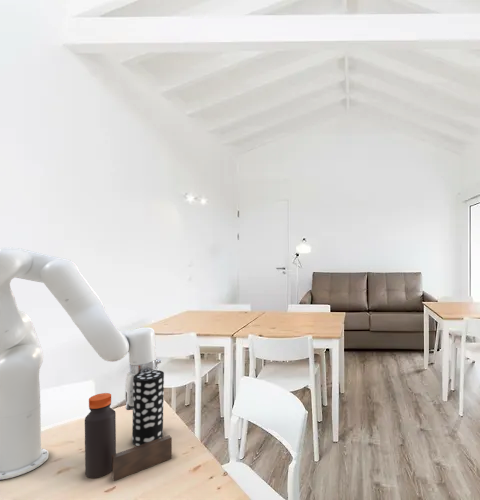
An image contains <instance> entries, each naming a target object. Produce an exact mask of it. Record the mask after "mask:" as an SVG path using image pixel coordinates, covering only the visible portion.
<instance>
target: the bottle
mask: <svg viewBox="0 0 480 500" xmlns="http://www.w3.org/2000/svg"><path fill="white" fill-rule="evenodd" d="M111 405H112V394H111V393H110V392H101V393H97V394H95V395H92V396H90V397H89V398H88V410H89V411H90V412H89V413H88V414H87V415H86V416H85V418H84V473H85V476H86V477H87V478H89V479H97V478H100V477H103V476H106V475H109V474H110V473H112V455H113V454H116V453H117V440H116V438H117V431H116V430H117V423H116V422H117V421H116V420H117V418H116V414H117V413H116V410H115V409H113V408H112V407H111Z"/></svg>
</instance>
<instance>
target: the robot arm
mask: <svg viewBox="0 0 480 500" xmlns="http://www.w3.org/2000/svg"><path fill="white" fill-rule="evenodd" d="M15 278H16V279H21V280H26V281H31V282H36V283H42V284H44V286H45V287H46V288H47V289H48V290H49V292H50V293H51V295H53V297H54V298H55V300H57V302H58V303H59V305H60V306H61V307H62V309H63V310H64V311H65V312H66V314H67V315H68V316H69V317H70V320H71V321H72V323H73V324H74V325H75V326H76V327H77V328H78V330H79V332H81V334H82V336H83V337H84V338H85V340H86V341H87V342H88V344H89V345H90V346H91V347H92V349H93V350H94V352H96V354H97V355H98V356H99V357H100V358H101V359H102V360H104V361H106V362H110V363H114V362H118V361H120V360H122V359H124V358H125V357H126V356H127V354H128V365H129V367H128V369H129V372H127V373H126V376H125V383H124V401H125V407H124V408H125V410H126V411H133V377H134V376H135V375H136V374H142V373H148V372H151V371H153V370H159V371H160V367H159V366H158V365H160V364H161V363H162V359H161V358H159V359H158V358H157V350H156V349H157V348H156V331H155V329H154V328H152V327H148V326H147V327H138V328H134V329H122V330H121V329H120V330H119V329H118V328H117V326H116V325H115V323H114V322H113V321H112V318H111V317H110V316H109V314H108V312H107V310H106V308H105V306H104V303H103V301H102V300H101V298H100V297H99V295H98V294H97V293H96V292H95V290H94V289H93V287H91V285H90V284H89V281H87V279H86V278H85V277H84V275H83V274H82V273H81V271H80V270H79V266H78V265H77V264H76V263H75V262H74V261H73V260H71V259H67V258H63V257H59V256H53V255H49V254H45V253H41V252H37V251H32V250H28V249H23V248H20V247H0V480H8V479H12V478H16V477H19V476H22V475H24V474H27V473H29V472H31V471H33V470H35V469H37V468H38V467H40V466H42V465H43V464H44V463H45V462H46V461H47V460H49V459H48V458H49V451H48V450H47V449H45V448H42V423H41V422H42V418H41V417H42V416H41V415H42V414H41V413H42V412H41V411H42V409H41V407H42V406H41V405H42V404H41V386H40V371H41V367H42V364H43V362H44V352H43V351H44V350H43V349H42V346H41V343H40V340H39V337H38V334H37V332H36V328H35V325H34V323H33V321H32V319H31V317H30V316H29V315H28V314H27V312H25V311H22V310H21V309H20V310H19V307H18V304H17V302H16V298H15V295H14V293H13V291H12V289H11V282H12V280H13V279H15Z"/></svg>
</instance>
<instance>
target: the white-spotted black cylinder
mask: <svg viewBox="0 0 480 500" xmlns="http://www.w3.org/2000/svg"><path fill="white" fill-rule="evenodd" d="M164 387H165V372H164V371H162V370H160V369H159V370H153V371H151V372H148V373H142V374H136V375H135V376H134V377H133V410H132V424H131V425H132V427H131V428H132V430H131V431H132V433H131V434H132V435H131V443H132V444H133V445H134V446H139V445H142V444H145V443H148V442H151V441H153V440H156V439H159V438H162V437H164V399H165V398H164V395H165V394H164V393H165V392H164V391H165V389H164Z"/></svg>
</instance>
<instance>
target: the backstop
mask: <svg viewBox="0 0 480 500" xmlns="http://www.w3.org/2000/svg"><path fill="white" fill-rule="evenodd" d="M172 440H173V439H172V437H171V435H170V434H168V435H165V436H162V438H159V439H156V440H153V441H151V442H148V443H145V444H142V445H139V446H137V445H135V446H133V447H131V448H128V449H125V450H122V451H119V452H116V454H113V455H112V471H111V479H112V481H113V482H116V481H118V480H120V479H124V478H126V477H129V476H130V475H133V474H135V473H138V472H140V471H144V470H146V469H148V468H151V467H153V466H156V465H159V464H161V463H163V462H167V461H169V460H171V459H173V447H172V446H173V441H172Z"/></svg>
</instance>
